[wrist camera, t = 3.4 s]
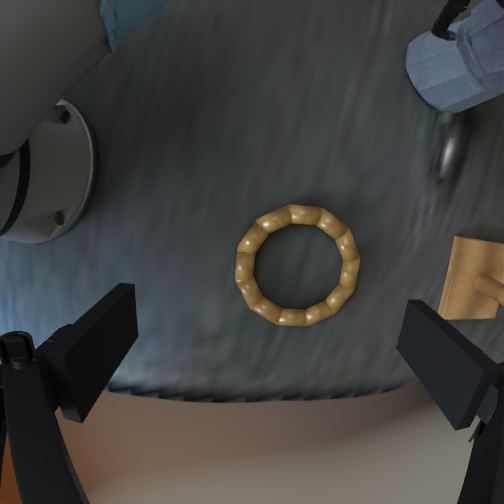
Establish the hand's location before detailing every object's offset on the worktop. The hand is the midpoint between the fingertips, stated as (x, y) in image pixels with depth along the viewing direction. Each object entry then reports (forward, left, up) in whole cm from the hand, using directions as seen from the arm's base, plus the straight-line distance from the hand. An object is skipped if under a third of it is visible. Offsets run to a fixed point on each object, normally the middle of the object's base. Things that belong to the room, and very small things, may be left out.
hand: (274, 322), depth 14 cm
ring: (+3, -1, -14) cm, 15 cm away
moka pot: (+16, +20, -15) cm, 30 cm away
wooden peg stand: (+24, -1, -15) cm, 29 cm away
